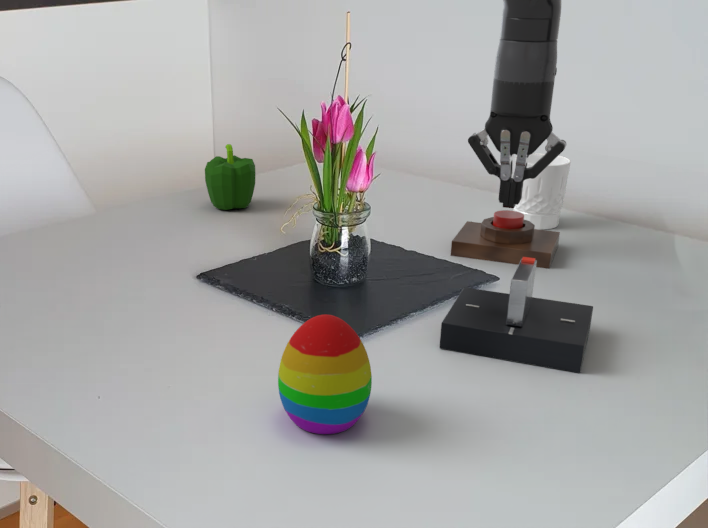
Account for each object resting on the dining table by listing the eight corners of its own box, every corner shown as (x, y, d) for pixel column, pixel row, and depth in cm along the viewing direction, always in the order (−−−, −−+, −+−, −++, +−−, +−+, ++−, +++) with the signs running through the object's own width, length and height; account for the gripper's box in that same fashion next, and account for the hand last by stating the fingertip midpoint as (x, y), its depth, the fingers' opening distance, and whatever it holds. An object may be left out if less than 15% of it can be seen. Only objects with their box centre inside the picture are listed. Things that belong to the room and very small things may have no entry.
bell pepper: (249, 215, 134) (248, 153, 130) (200, 212, 135) (198, 151, 132) (261, 201, 141) (261, 142, 137) (214, 198, 143) (213, 140, 139)
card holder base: (589, 330, 92) (593, 304, 91) (579, 373, 82) (584, 344, 81) (461, 310, 97) (464, 285, 96) (439, 348, 88) (441, 321, 87)
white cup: (506, 228, 126) (514, 163, 122) (509, 214, 133) (516, 152, 129) (561, 233, 124) (571, 167, 120) (562, 218, 131) (570, 155, 127)
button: (524, 224, 116) (526, 212, 115) (520, 232, 113) (521, 219, 112) (495, 220, 118) (496, 208, 117) (490, 228, 114) (491, 216, 114)
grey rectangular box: (521, 327, 85) (527, 279, 83) (506, 324, 86) (511, 277, 84) (531, 303, 91) (537, 257, 89) (516, 300, 92) (521, 255, 90)
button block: (558, 246, 118) (561, 219, 117) (549, 269, 110) (552, 240, 108) (465, 235, 123) (468, 209, 122) (450, 256, 115) (452, 228, 113)
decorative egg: (388, 419, 75) (394, 316, 71) (326, 454, 69) (329, 346, 66) (321, 388, 80) (323, 291, 76) (259, 418, 75) (258, 316, 71)
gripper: (466, 77, 107) (454, 208, 113) (575, 82, 102) (556, 219, 108) (477, 70, 113) (466, 194, 120) (581, 75, 108) (563, 205, 115)
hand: (509, 206), depth 114 cm, fingers closed
